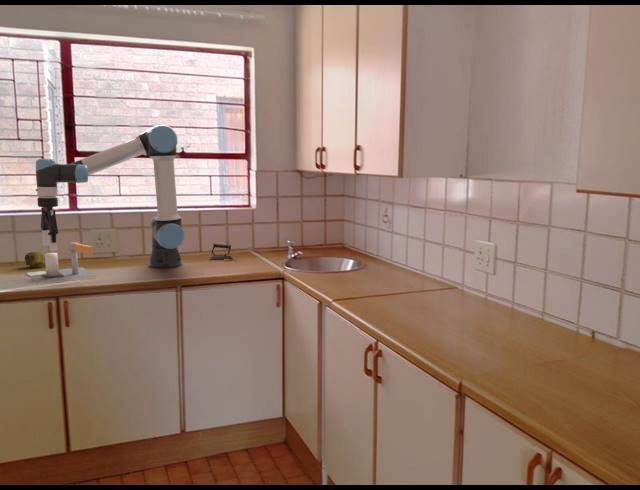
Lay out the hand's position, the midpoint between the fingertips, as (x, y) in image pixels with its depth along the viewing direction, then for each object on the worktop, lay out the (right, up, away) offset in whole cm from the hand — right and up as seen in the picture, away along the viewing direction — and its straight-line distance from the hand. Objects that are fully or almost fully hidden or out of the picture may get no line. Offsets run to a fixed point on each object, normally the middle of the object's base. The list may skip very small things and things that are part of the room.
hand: (50, 248), depth 232 cm
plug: (0, -11, +2) cm, 11 cm away
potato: (-14, -10, +21) cm, 28 cm away
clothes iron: (+63, -6, +49) cm, 80 cm away
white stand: (+2, -12, +6) cm, 14 cm away
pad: (-8, -11, +5) cm, 15 cm away
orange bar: (+12, -1, +2) cm, 12 cm away
